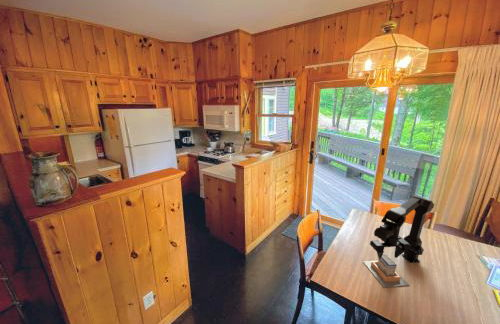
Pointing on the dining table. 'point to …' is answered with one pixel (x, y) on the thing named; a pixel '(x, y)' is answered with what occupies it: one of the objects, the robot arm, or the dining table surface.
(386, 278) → the end holder
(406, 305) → the dining table surface
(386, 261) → the medicine box
